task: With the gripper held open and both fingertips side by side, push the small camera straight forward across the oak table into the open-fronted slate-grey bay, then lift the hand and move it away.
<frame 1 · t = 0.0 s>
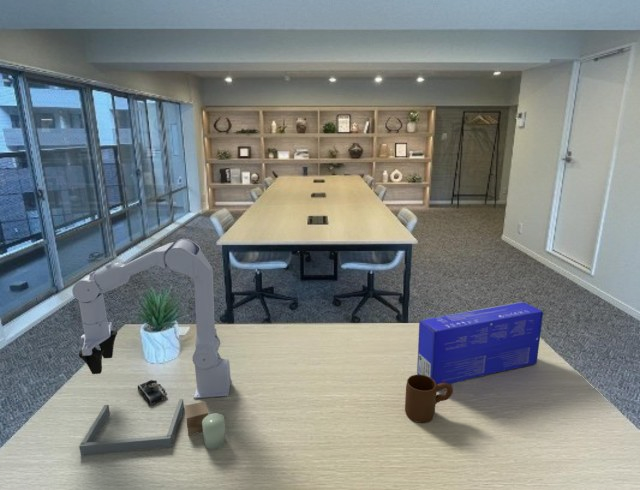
hand: (102, 365, 109), 10 cm above the table, tool pointing down, fingers open, 7 cm apart
camera: (152, 395, 113), on the table
toner cartridge box: (476, 369, 125), on the table
mug: (427, 414, 105), on the table
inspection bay: (136, 428, 100), on the table
rounded green capsule: (215, 441, 96), on the table
walnut block: (197, 426, 101), on the table
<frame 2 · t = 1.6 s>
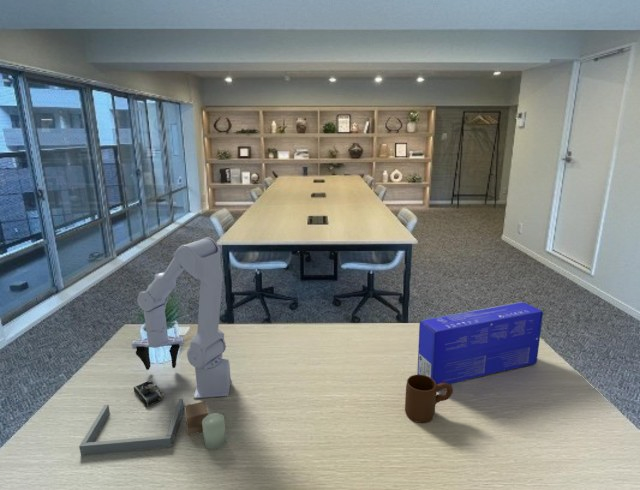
hand: (161, 367, 123), 2 cm above the table, tool pointing down, fingers open, 7 cm apart
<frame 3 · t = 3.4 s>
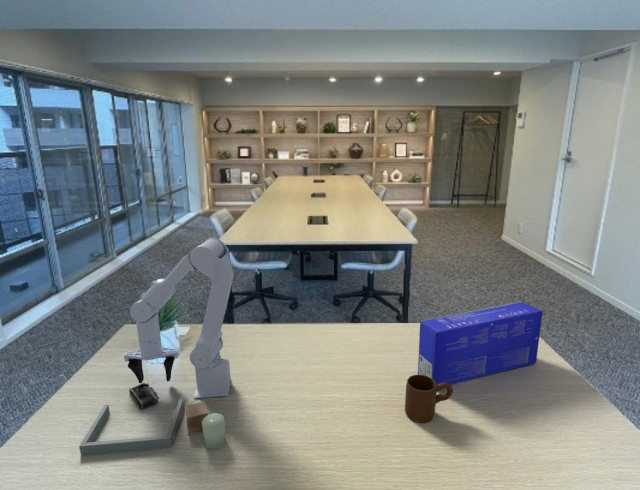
hand: (155, 380, 116), 2 cm above the table, tool pointing down, fingers open, 7 cm apart
camera: (143, 399, 112), on the table, touching gripper
everything else where it was.
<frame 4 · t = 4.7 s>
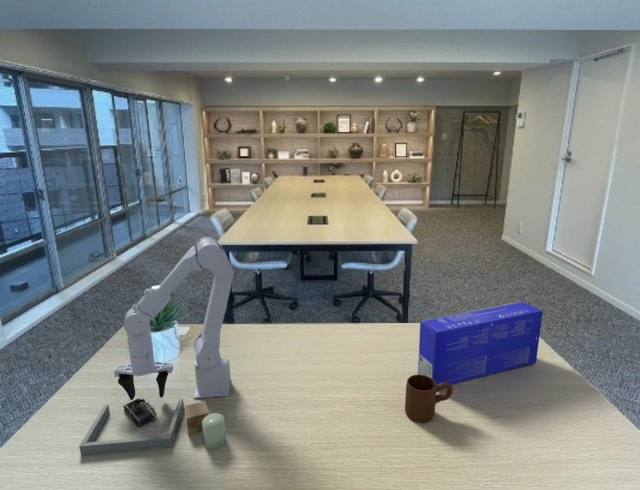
hand: (147, 396, 109), 2 cm above the table, tool pointing down, fingers open, 7 cm apart
camera: (140, 415, 105), on the table, touching gripper
everything else where it was.
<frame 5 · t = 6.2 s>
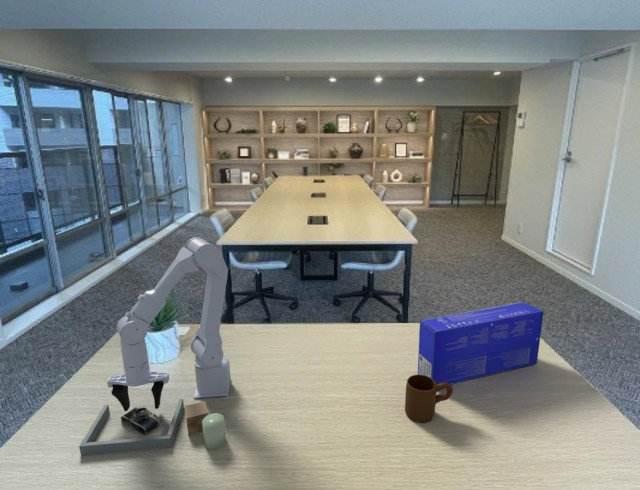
hand: (142, 407, 105), 2 cm above the table, tool pointing down, fingers open, 7 cm apart
camera: (140, 424, 102), on the table
everything else where it was.
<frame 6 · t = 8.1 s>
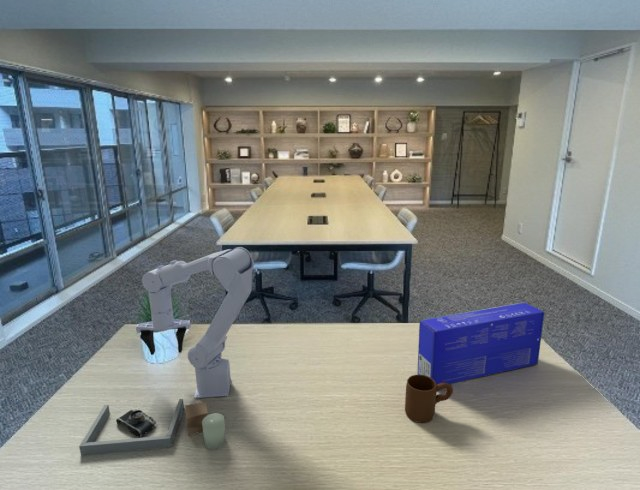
hand: (166, 352, 117), 9 cm above the table, tool pointing down, fingers open, 7 cm apart
camera: (136, 427, 101), on the table
everything else where it was.
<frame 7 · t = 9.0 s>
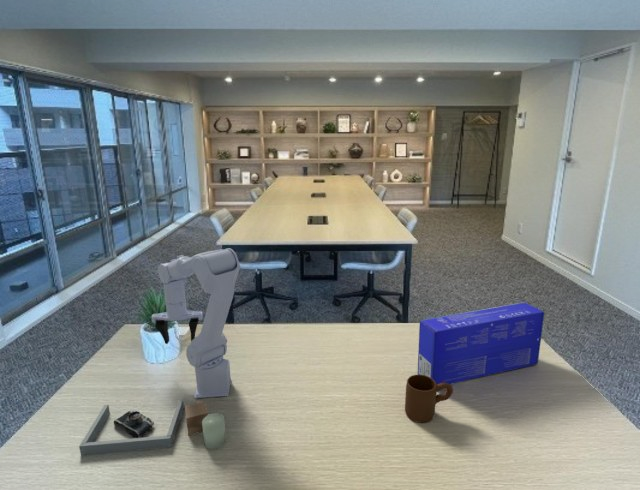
hand: (180, 341, 123), 9 cm above the table, tool pointing down, fingers open, 7 cm apart
nothing on the table moved.
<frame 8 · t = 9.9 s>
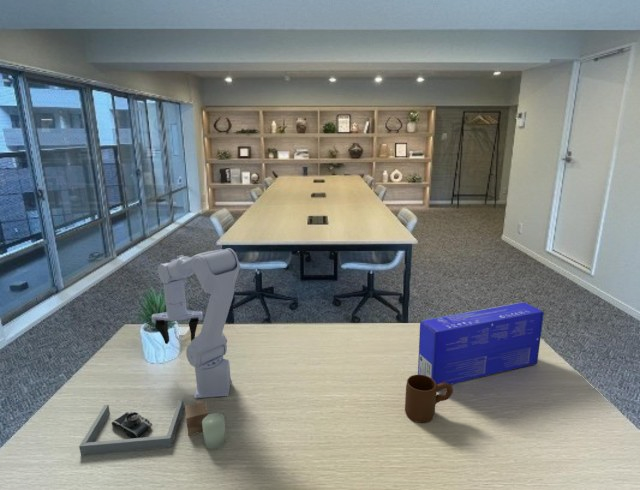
hand: (180, 341, 123), 9 cm above the table, tool pointing down, fingers open, 7 cm apart
at the end: camera inside the target area on the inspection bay (1.5 cm from its centre), point -0.6 cm above the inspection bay's base; camera moved 13.8 cm from its start; camera tilted 0° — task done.
